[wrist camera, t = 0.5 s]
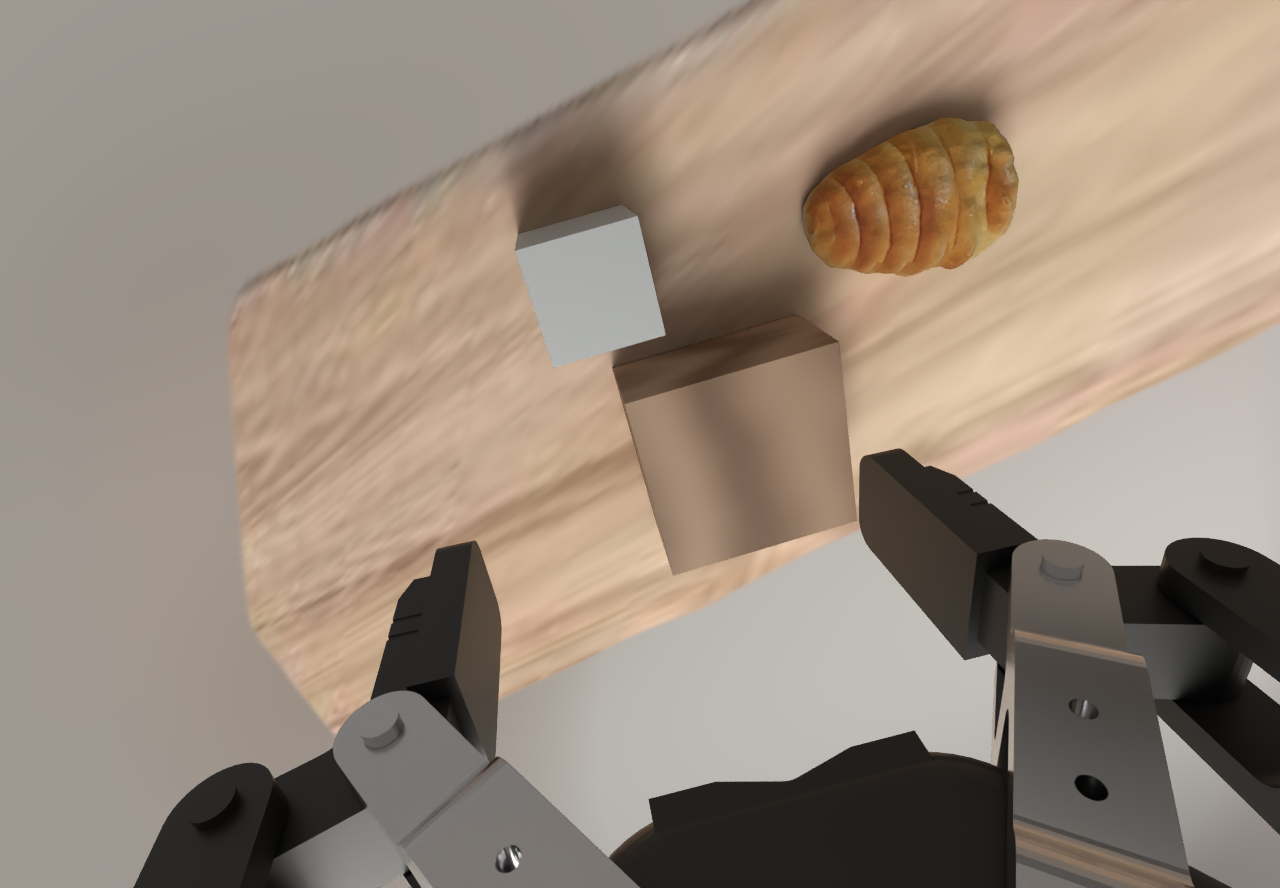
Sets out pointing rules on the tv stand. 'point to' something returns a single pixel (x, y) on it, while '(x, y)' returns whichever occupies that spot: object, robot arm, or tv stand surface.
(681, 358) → the tan square block
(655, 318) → the grey cube
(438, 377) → the tv stand surface
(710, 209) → the tv stand surface
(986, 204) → the pastry
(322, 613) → the tv stand surface
